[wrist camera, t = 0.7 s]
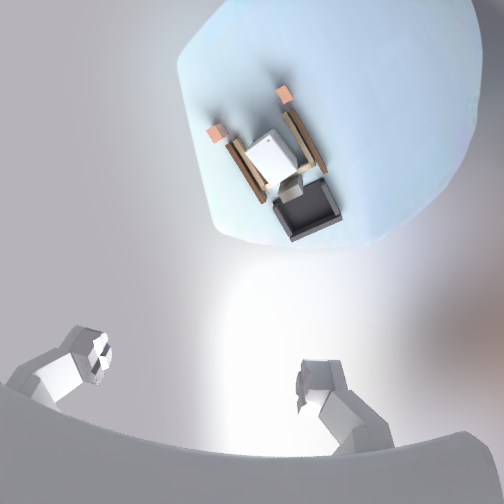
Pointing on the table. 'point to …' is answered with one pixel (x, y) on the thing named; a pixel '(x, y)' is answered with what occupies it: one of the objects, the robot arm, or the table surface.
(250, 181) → the walnut channel
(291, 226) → the dark grey tray
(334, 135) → the table surface
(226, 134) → the posts
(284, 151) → the small box
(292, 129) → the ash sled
